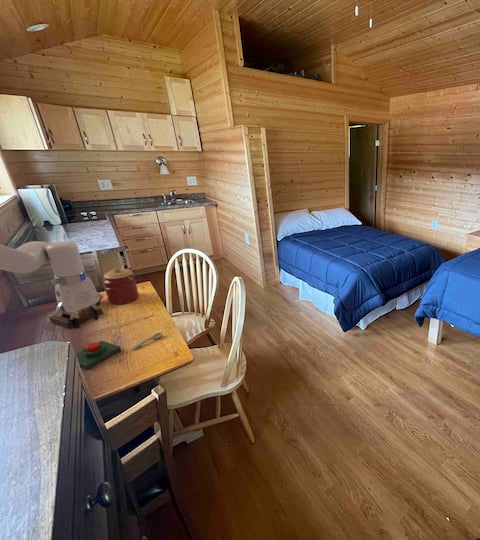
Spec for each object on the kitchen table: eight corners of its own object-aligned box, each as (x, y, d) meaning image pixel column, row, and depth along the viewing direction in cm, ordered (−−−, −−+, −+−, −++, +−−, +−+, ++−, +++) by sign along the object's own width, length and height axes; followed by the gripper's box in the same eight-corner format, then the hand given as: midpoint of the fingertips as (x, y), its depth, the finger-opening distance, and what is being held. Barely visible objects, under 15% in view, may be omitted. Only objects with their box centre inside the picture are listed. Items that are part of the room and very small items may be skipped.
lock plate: (68, 328, 129) (66, 322, 128) (51, 323, 132) (48, 316, 131) (103, 313, 142) (101, 308, 140) (86, 308, 144) (84, 303, 143)
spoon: (164, 336, 129) (163, 332, 129) (135, 352, 120) (133, 348, 119) (160, 334, 131) (159, 330, 130) (130, 350, 121) (129, 346, 120)
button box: (87, 370, 108) (84, 361, 107) (68, 363, 111) (65, 354, 109) (121, 351, 119) (119, 342, 117) (103, 344, 121) (100, 336, 120)
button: (91, 353, 111) (90, 349, 111) (84, 350, 112) (83, 346, 112) (102, 347, 115) (100, 343, 114) (95, 345, 115) (94, 341, 115)
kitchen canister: (112, 294, 158) (104, 263, 152) (141, 292, 163) (135, 262, 157) (104, 306, 147) (95, 273, 141) (136, 303, 153) (128, 271, 146)
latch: (82, 313, 136) (79, 304, 134) (78, 314, 134) (75, 306, 133) (74, 310, 137) (71, 302, 135) (70, 311, 136) (67, 303, 134)
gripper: (47, 289, 94) (64, 338, 100) (105, 271, 109) (117, 314, 116) (31, 285, 96) (49, 332, 102) (91, 267, 111) (103, 310, 118)
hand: (85, 322), depth 109 cm, fingers open, 5 cm apart
